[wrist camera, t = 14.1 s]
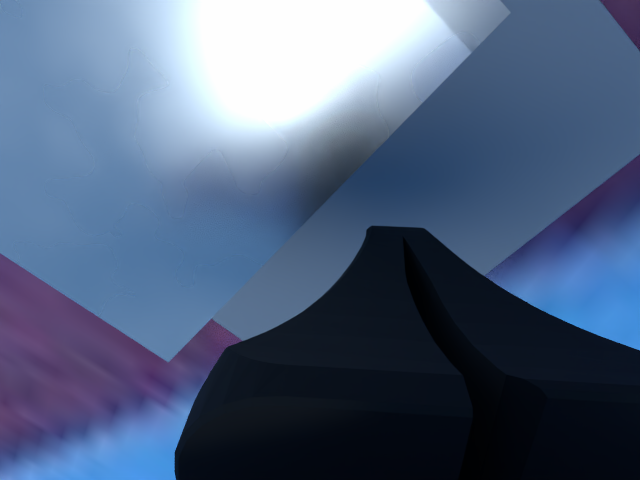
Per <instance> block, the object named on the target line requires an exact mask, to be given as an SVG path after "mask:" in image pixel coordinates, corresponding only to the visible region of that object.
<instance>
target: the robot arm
mask: <svg viewBox="0 0 640 480" xmlns="http://www.w3.org/2000/svg"><path fill="white" fill-rule="evenodd" d="M175 476H176V480H640V350H637V349H634V348H631V347H628V346H626V345H623V344H620V343H617V342H614V341H612V340H609V339H606V338H603V337H601V336H598V335H596V334H593V333H591V332H588V331H586V330H583V329H581V328H579V327H576V326H574V325H572V324H570V323H567V322H565V321H563V320H561V319H559V318H557V317H554V316H552V315H550V314H548V313H546V312H544V311H542V310H540V309H538V308H536V307H534V306H532V305H530V304H529V303H527V302H525V301H523V300H521V299H520V298H518V297H516V296H514V295H513V294H511V293H509V292H507V291H506V290H504V289H503V288H501V287H499V286H498V285H496V284H495V283H493V282H492V281H491V280H489V279H488V278H486V277H485V276H483V275H482V274H480V273H479V272H478V271H476V270H475V269H474V268H472V267H471V266H470V265H468V264H467V263H466V262H464V261H463V260H462V259H461V258H459V257H458V256H457V255H456V254H454V253H453V252H452V251H451V250H450V249H449V248H447V247H446V246H445V245H444V244H443V243H441V242H440V241H439V240H438V239H437V238H436V237H434V236H433V235H432V234H431V233H430V232H428V231H427V230H426V229H424V228H418V227H396V226H373V225H371V226H370V227H369V228H368V229H367V230H366V237H365V239H364V242H363V244H362V246H361V248H360V250H359V251H358V253H357V255H356V256H355V258H354V260H353V261H352V262H351V264H350V265H349V266H348V268H347V269H346V270H345V272H344V273H343V274H342V276H341V277H340V278H339V279H338V280H337V281H336V283H335V284H334V285H333V286H332V287H331V288H330V289H329V290H328V291H327V292H326V293H325V294H324V295H323V296H321V297H320V298H319V299H318V300H317V301H315V302H314V303H313V304H312V305H310V306H309V307H308V308H307V309H305V310H304V311H303V312H301V313H300V314H298V315H296V316H295V317H293V318H291V319H290V320H288V321H286V322H284V323H282V324H280V325H279V326H277V327H275V328H273V329H271V330H268V331H266V332H264V333H262V334H259V335H257V336H254V337H252V338H249V339H247V340H244V341H242V342H239V343H237V344H234V345H231V346H228V347H227V348H226V349H225V350H224V352H223V353H222V355H221V356H220V358H219V359H218V361H217V363H216V364H215V366H214V367H213V369H212V371H211V372H210V374H209V376H208V378H207V379H206V381H205V383H204V384H203V386H202V388H201V389H200V391H199V393H198V395H197V397H196V399H195V401H194V404H193V406H192V409H191V411H190V414H189V416H188V419H187V421H186V424H185V427H184V429H183V432H182V435H181V437H180V440H179V442H178V445H177V448H176V450H175Z"/></svg>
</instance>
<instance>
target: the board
mask: <svg viewBox="0 0 640 480" xmlns="http://www.w3.org/2000/svg"><path fill="white" fill-rule="evenodd" d="M500 1H501V2H502V3H503V4H504V5H505V6H506V7H507V9H508V10H509V11H510V12H511V13H510V14H509V15H508V16H507V17H506V18H505V19H504V20H503V21H502V22H501V23H500V24H499V25H498V26H497V27H496V28H495V29H494V30H493V31H492V32H491V33H490V34H489V35H488V36H487V37H486V39H485V40H484V41H483V42H482V43H481V44H480V45H479V46H478V47H477V48H476V49H475V50H474V51H473V52H472V53H471V54H470V55H469V56H468V57H467V58H466V59H465V60H464V61H463V62H462V63H461V64H460V65H459V66H458V67H457V68H456V69H455V70H454V71H453V72H452V73H451V74H450V75H449V76H448V77H447V78H446V79H445V80H444V81H443V82H442V83H441V84H440V85H439V86H438V88H437V89H436V90H435V91H434V92H433V93H432V94H431V95H430V96H429V97H428V98H427V99H426V100H425V101H424V102H423V103H422V104H421V105H420V106H419V107H418V108H417V109H416V110H415V111H414V112H413V113H412V114H411V115H410V116H409V117H408V118H407V119H406V120H405V121H404V122H403V123H402V124H401V125H400V126H399V127H398V128H397V129H396V130H395V131H394V132H393V133H392V134H391V135H390V137H389V138H388V139H387V140H386V141H385V142H384V143H383V144H382V145H381V146H380V147H379V148H378V149H377V150H376V151H375V152H374V153H373V154H372V155H371V156H370V157H369V158H368V159H367V160H366V161H365V162H364V163H363V164H362V165H361V166H360V167H359V168H358V169H357V170H356V171H355V172H354V173H353V174H352V175H351V176H350V177H349V178H348V179H347V180H346V181H345V182H344V183H343V184H342V186H341V187H340V188H339V189H338V190H337V191H336V192H335V193H334V194H333V195H332V196H331V197H330V198H329V199H328V200H327V201H326V202H325V203H324V204H323V205H322V206H321V207H320V208H319V209H318V210H317V211H316V212H315V213H314V214H313V215H312V216H311V217H310V218H309V219H308V220H307V221H306V222H305V223H304V224H303V225H302V226H301V227H300V228H299V229H298V230H297V231H296V232H295V233H294V235H293V236H292V237H291V238H290V239H289V240H288V241H287V242H286V243H285V244H284V245H283V246H282V247H281V248H280V249H279V250H278V251H277V252H276V253H275V254H274V255H273V256H272V257H271V258H270V259H269V260H268V261H267V262H266V263H265V264H264V265H263V266H262V267H261V268H260V269H259V270H258V271H257V272H256V273H255V274H254V275H253V276H252V277H251V278H250V279H249V280H248V281H247V283H246V284H245V285H244V286H243V287H242V288H241V289H240V290H239V291H238V292H237V293H236V294H235V295H234V296H233V297H232V298H231V299H230V300H229V301H228V302H227V303H226V304H225V305H224V306H223V307H222V308H221V309H220V310H219V311H218V312H217V313H216V314H215V315H214V316H213V317H212V318H211V319H213V320H214V321H216V322H217V323H219V324H220V325H221V326H223V327H224V328H226V329H227V330H229V331H230V332H231V333H233V334H234V335H236V336H237V337H239V338H240V339H241V340H243V341H244V340H247V339H249V338H252V337H254V336H257V335H259V334H262V333H264V332H266V331H268V330H271V329H273V328H275V327H277V326H279V325H280V324H282V323H284V322H286V321H288V320H290V319H291V318H293V317H295V316H296V315H298V314H300V313H301V312H303V311H304V310H305V309H307V308H308V307H309V306H310V305H312V304H313V303H314V302H315V301H317V300H318V299H319V298H320V297H321V296H323V295H324V294H325V293H326V292H327V291H328V290H329V289H330V288H331V287H332V286H333V285H334V284H335V283H336V281H337V280H338V279H339V278H340V277H341V276H342V274H343V273H344V272H345V270H346V269H347V268H348V266H349V265H350V264H351V262H352V261H353V260H354V258H355V256H356V255H357V253H358V251H359V250H360V248H361V246H362V244H363V242H364V239H365V237H366V230H367V229H368V228H369V227H370V226H371V225H373V226H396V227H418V228H424V229H426V230H427V231H428V232H430V233H431V234H432V235H433V236H434V237H436V238H437V239H438V240H439V241H440V242H441V243H443V244H444V245H445V246H446V247H447V248H449V249H450V250H451V251H452V252H453V253H454V254H456V255H457V256H458V257H459V258H461V259H462V260H463V261H464V262H466V263H467V264H468V265H470V266H471V267H472V268H474V269H475V270H476V271H478V272H479V273H480V274H482V275H483V276H484V275H486V274H487V273H488V272H489V271H491V270H492V269H493V268H495V267H496V266H497V265H498V264H500V263H501V262H502V261H504V260H505V259H506V258H507V257H509V256H510V255H511V254H513V253H514V252H515V251H516V250H518V249H519V248H520V247H521V246H523V245H524V244H525V243H527V242H528V241H529V240H530V239H532V238H533V237H534V236H536V235H537V234H538V233H539V232H541V231H542V230H543V229H545V228H546V227H547V226H548V225H550V224H551V223H552V222H553V221H555V220H556V219H557V218H559V217H560V216H561V215H562V214H564V213H565V212H566V211H568V210H569V209H570V208H571V207H573V206H574V205H575V204H577V203H578V202H579V201H580V200H582V199H583V198H584V197H585V196H587V195H588V194H589V193H591V192H592V191H593V190H594V189H596V188H597V187H598V186H600V185H601V184H602V183H603V182H605V181H606V180H607V179H609V178H610V177H611V176H612V175H614V174H615V173H616V172H617V171H619V170H620V169H621V168H623V167H624V166H625V165H626V164H628V163H629V162H630V161H632V160H633V159H634V158H635V157H637V156H638V155H639V154H640V51H639V50H638V48H637V47H636V46H635V45H634V43H633V42H632V41H631V40H630V38H629V37H628V36H627V34H626V33H625V32H624V31H623V29H622V28H621V27H620V26H619V24H618V23H617V22H616V20H615V19H614V18H613V17H612V15H611V14H610V13H609V12H608V10H607V9H606V8H605V6H604V5H603V4H602V3H601V1H600V0H500Z"/></svg>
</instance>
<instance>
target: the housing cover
mask: <svg viewBox="0 0 640 480" xmlns="http://www.w3.org/2000/svg"><path fill="white" fill-rule="evenodd" d="M510 13H511V12H510V11H509V10H508V9H507V7H506V6H505V5H504V4H503V3H502V2H501V1H500V0H0V253H1V254H2V255H4V256H6V257H7V258H9V259H10V260H12V261H13V262H15V263H16V264H18V265H19V266H21V267H23V268H24V269H26V270H27V271H29V272H30V273H32V274H33V275H35V276H36V277H38V278H39V279H41V280H43V281H44V282H46V283H47V284H49V285H50V286H52V287H53V288H55V289H56V290H58V291H59V292H61V293H63V294H64V295H66V296H67V297H69V298H70V299H72V300H73V301H75V302H76V303H78V304H79V305H81V306H83V307H84V308H86V309H87V310H89V311H90V312H92V313H93V314H95V315H96V316H98V317H100V318H101V319H103V320H104V321H106V322H107V323H109V324H110V325H112V326H113V327H115V328H116V329H118V330H120V331H121V332H123V333H124V334H126V335H127V336H129V337H130V338H132V339H133V340H135V341H136V342H138V343H140V344H141V345H143V346H144V347H146V348H147V349H149V350H150V351H152V352H153V353H155V354H156V355H158V356H160V357H161V358H163V359H164V360H166V361H167V362H169V361H170V360H171V359H172V358H173V357H174V356H175V355H176V354H177V353H178V352H179V351H180V350H181V349H182V348H183V347H184V346H185V345H186V344H187V343H188V342H189V341H190V340H191V339H192V338H193V337H194V336H195V335H196V334H197V333H198V332H199V330H200V329H201V328H202V327H203V326H204V325H205V324H206V323H207V322H208V321H209V320H210V319H211V318H212V317H213V316H214V315H215V314H216V313H217V312H218V311H219V310H220V309H221V308H222V307H223V306H224V305H225V304H226V303H227V302H228V301H229V300H230V299H231V298H232V297H233V296H234V295H235V294H236V293H237V292H238V291H239V290H240V289H241V288H242V287H243V286H244V285H245V284H246V283H247V281H248V280H249V279H250V278H251V277H252V276H253V275H254V274H255V273H256V272H257V271H258V270H259V269H260V268H261V267H262V266H263V265H264V264H265V263H266V262H267V261H268V260H269V259H270V258H271V257H272V256H273V255H274V254H275V253H276V252H277V251H278V250H279V249H280V248H281V247H282V246H283V245H284V244H285V243H286V242H287V241H288V240H289V239H290V238H291V237H292V236H293V235H294V233H295V232H296V231H297V230H298V229H299V228H300V227H301V226H302V225H303V224H304V223H305V222H306V221H307V220H308V219H309V218H310V217H311V216H312V215H313V214H314V213H315V212H316V211H317V210H318V209H319V208H320V207H321V206H322V205H323V204H324V203H325V202H326V201H327V200H328V199H329V198H330V197H331V196H332V195H333V194H334V193H335V192H336V191H337V190H338V189H339V188H340V187H341V186H342V184H343V183H344V182H345V181H346V180H347V179H348V178H349V177H350V176H351V175H352V174H353V173H354V172H355V171H356V170H357V169H358V168H359V167H360V166H361V165H362V164H363V163H364V162H365V161H366V160H367V159H368V158H369V157H370V156H371V155H372V154H373V153H374V152H375V151H376V150H377V149H378V148H379V147H380V146H381V145H382V144H383V143H384V142H385V141H386V140H387V139H388V138H389V137H390V135H391V134H392V133H393V132H394V131H395V130H396V129H397V128H398V127H399V126H400V125H401V124H402V123H403V122H404V121H405V120H406V119H407V118H408V117H409V116H410V115H411V114H412V113H413V112H414V111H415V110H416V109H417V108H418V107H419V106H420V105H421V104H422V103H423V102H424V101H425V100H426V99H427V98H428V97H429V96H430V95H431V94H432V93H433V92H434V91H435V90H436V89H437V88H438V86H439V85H440V84H441V83H442V82H443V81H444V80H445V79H446V78H447V77H448V76H449V75H450V74H451V73H452V72H453V71H454V70H455V69H456V68H457V67H458V66H459V65H460V64H461V63H462V62H463V61H464V60H465V59H466V58H467V57H468V56H469V55H470V54H471V53H472V52H473V51H474V50H475V49H476V48H477V47H478V46H479V45H480V44H481V43H482V42H483V41H484V40H485V39H486V37H487V36H488V35H489V34H490V33H491V32H492V31H493V30H494V29H495V28H496V27H497V26H498V25H499V24H500V23H501V22H502V21H503V20H504V19H505V18H506V17H507V16H508V15H509V14H510Z"/></svg>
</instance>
